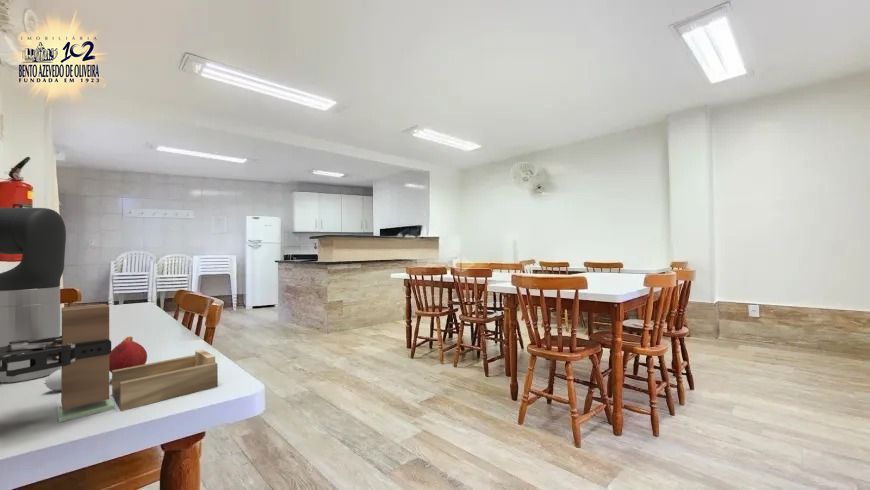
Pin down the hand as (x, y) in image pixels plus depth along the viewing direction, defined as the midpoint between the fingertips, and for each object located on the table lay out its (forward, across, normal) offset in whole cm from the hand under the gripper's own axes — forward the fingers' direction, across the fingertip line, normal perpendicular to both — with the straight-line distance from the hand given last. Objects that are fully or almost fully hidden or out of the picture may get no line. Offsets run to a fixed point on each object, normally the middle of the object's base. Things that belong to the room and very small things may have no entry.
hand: (108, 343), depth 58 cm
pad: (-3, 0, +10) cm, 10 cm away
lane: (+7, 0, +9) cm, 12 cm away
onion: (+4, +13, +10) cm, 17 cm away
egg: (-4, +15, +10) cm, 18 cm away
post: (-3, 0, +8) cm, 8 cm away
